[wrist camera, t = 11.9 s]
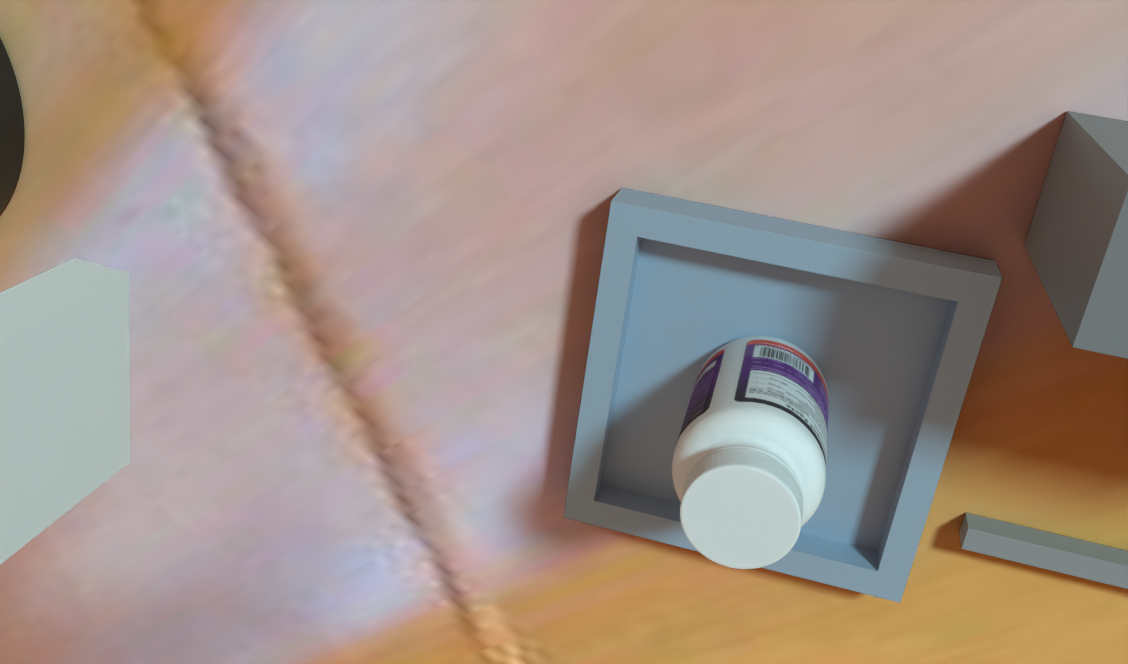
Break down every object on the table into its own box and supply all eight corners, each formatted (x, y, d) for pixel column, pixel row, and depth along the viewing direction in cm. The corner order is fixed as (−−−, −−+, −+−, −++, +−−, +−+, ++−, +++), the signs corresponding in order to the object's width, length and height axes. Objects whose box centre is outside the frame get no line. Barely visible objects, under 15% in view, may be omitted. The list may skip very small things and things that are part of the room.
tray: (574, 494, 49) (563, 517, 47) (621, 187, 43) (611, 200, 41) (898, 575, 46) (900, 602, 44) (995, 260, 40) (1002, 277, 38)
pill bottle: (727, 467, 46) (697, 605, 37) (674, 358, 44) (630, 474, 36) (851, 429, 44) (850, 564, 35) (799, 313, 42) (784, 424, 34)
